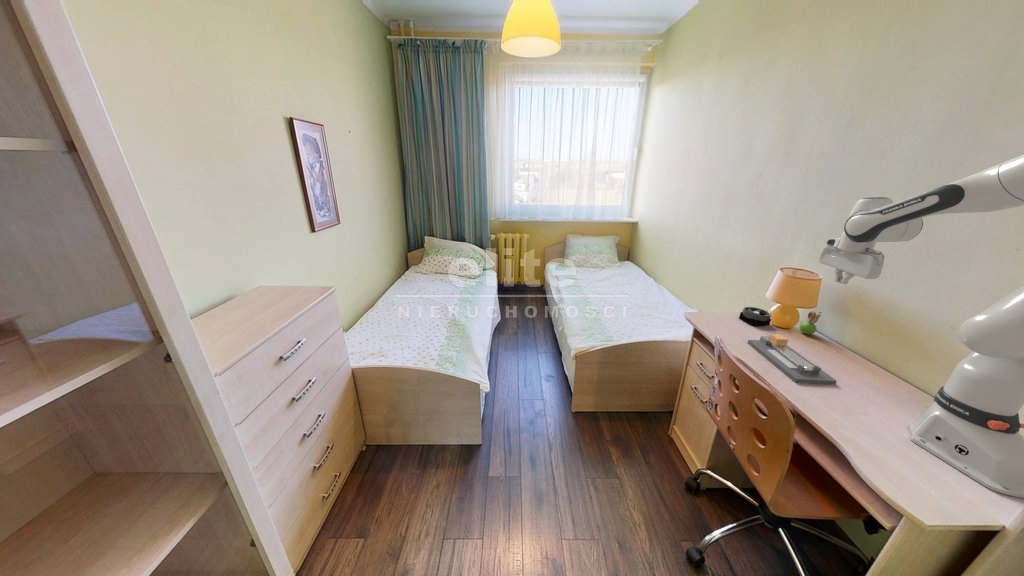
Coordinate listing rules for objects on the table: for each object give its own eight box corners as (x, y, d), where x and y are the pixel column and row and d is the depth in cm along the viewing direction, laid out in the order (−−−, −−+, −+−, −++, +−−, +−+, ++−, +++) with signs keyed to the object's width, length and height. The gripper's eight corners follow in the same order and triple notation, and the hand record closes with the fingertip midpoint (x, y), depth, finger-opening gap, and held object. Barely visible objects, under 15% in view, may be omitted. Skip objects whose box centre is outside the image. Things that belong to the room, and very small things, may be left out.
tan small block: (785, 346, 125) (788, 339, 124) (775, 345, 125) (777, 339, 124) (778, 340, 128) (780, 334, 127) (768, 340, 129) (770, 334, 128)
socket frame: (835, 384, 109) (839, 374, 108) (795, 382, 110) (799, 372, 108) (780, 344, 133) (783, 335, 132) (747, 342, 134) (750, 334, 132)
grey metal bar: (815, 372, 112) (816, 368, 111) (803, 371, 112) (805, 368, 111) (780, 345, 127) (782, 342, 127) (770, 345, 127) (771, 342, 127)
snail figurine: (803, 336, 140) (813, 311, 135) (795, 329, 145) (804, 305, 141) (818, 338, 138) (828, 312, 134) (809, 331, 144) (818, 306, 140)
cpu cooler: (738, 307, 154) (756, 305, 156) (735, 317, 156) (753, 316, 158) (757, 316, 145) (776, 315, 147) (753, 328, 147) (772, 326, 149)
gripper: (896, 253, 103) (878, 293, 108) (839, 239, 122) (826, 273, 127) (875, 252, 103) (858, 292, 108) (822, 238, 122) (809, 273, 127)
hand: (840, 282), depth 118 cm, fingers closed
